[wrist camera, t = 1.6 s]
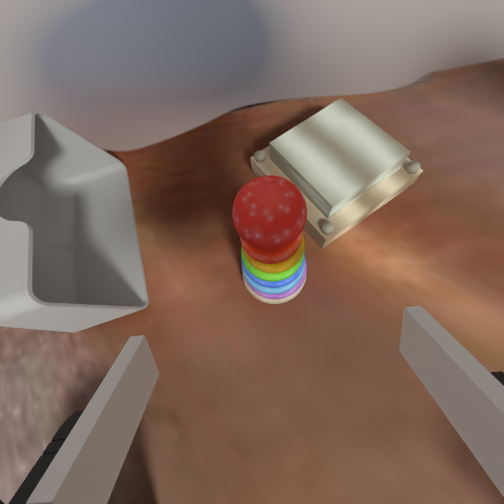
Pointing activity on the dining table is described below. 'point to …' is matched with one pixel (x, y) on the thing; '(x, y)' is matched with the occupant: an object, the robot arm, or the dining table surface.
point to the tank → (64, 230)
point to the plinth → (338, 168)
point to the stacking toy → (271, 238)
